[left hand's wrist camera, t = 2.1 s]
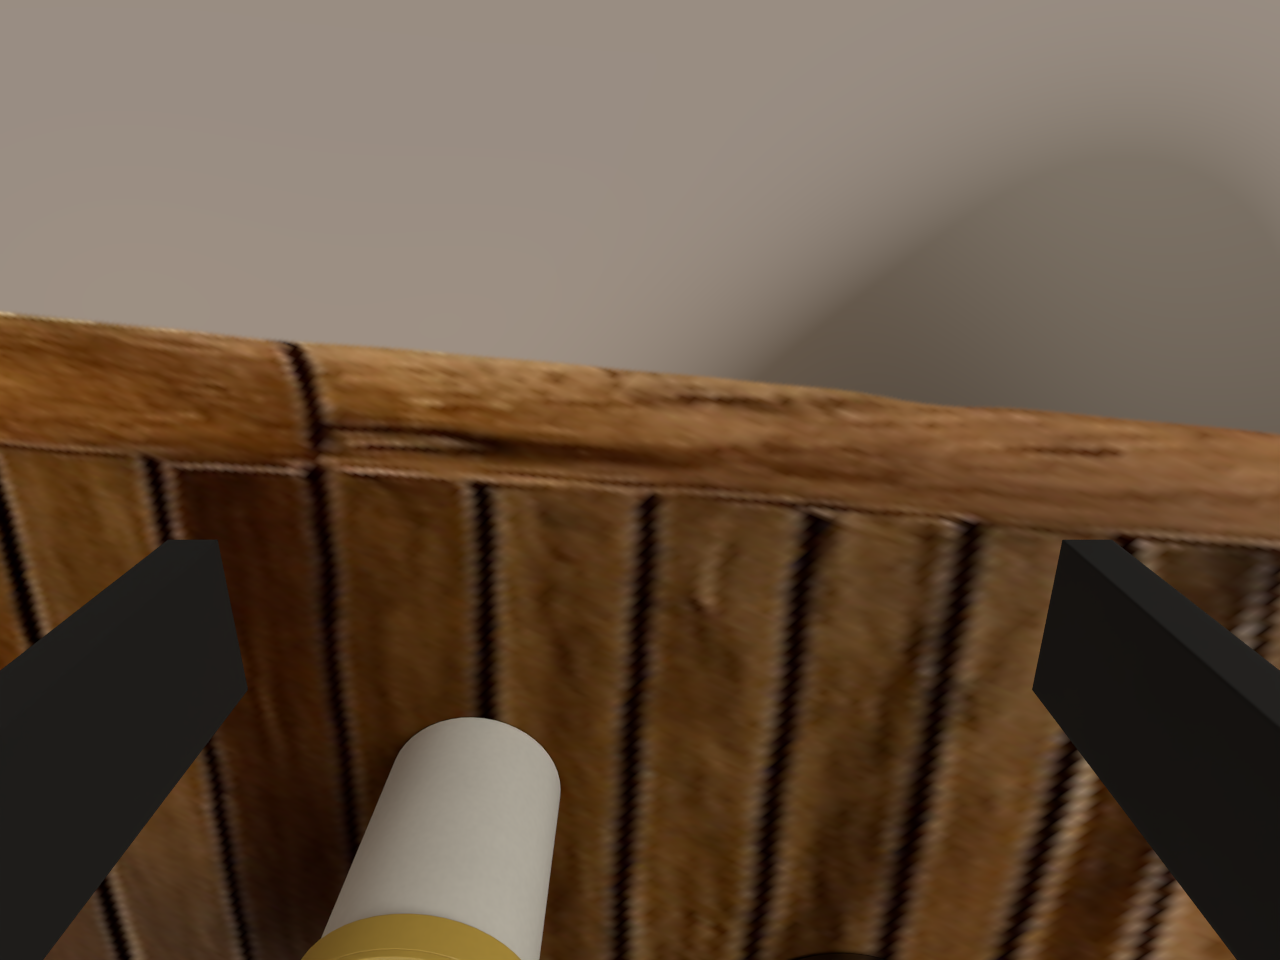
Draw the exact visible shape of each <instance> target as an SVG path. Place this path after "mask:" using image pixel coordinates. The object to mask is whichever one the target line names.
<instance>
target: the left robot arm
mask: <svg viewBox="0 0 1280 960" xmlns="http://www.w3.org/2000/svg"><path fill="white" fill-rule="evenodd" d="M247 690H248V688H247V683H246V678H245V673H244V669H243V664H242V659H241V654H240V649H239V644H238V639H237V634H236V629H235V624H234V619H233V614H232V609H231V604H230V599H229V594H228V590H227V585H226V580H225V575H224V570H223V565H222V560H221V555H220V550H219V545H218V540H167V541H166V542H165V543H163V544H162V545H161V546H160V547H158V548H157V549H156V550H154V551H153V552H152V553H151V554H149V555H148V556H147V557H145V558H144V559H143V560H142V561H140V562H139V563H138V564H137V565H135V566H134V567H133V568H131V569H130V570H129V571H128V572H126V573H125V574H124V575H122V576H121V577H120V578H119V579H117V580H116V581H115V582H113V583H112V584H111V585H110V586H108V587H107V588H106V589H104V590H103V591H102V592H101V593H99V594H98V595H97V596H95V597H94V598H93V599H92V600H90V601H89V602H88V603H86V604H85V605H84V606H83V607H81V608H80V609H79V610H77V611H76V612H75V613H74V614H72V615H71V616H70V617H68V618H67V619H66V620H65V621H63V622H62V623H61V624H60V625H58V626H57V627H56V628H54V629H53V630H52V631H51V632H49V633H48V634H47V635H45V636H44V637H43V638H42V639H40V640H39V641H38V642H36V643H35V644H34V645H33V646H31V647H30V648H29V649H27V650H26V651H25V652H24V653H22V654H21V655H20V656H18V657H17V658H16V659H15V660H13V661H12V662H11V663H9V664H8V665H7V666H6V667H4V668H3V669H2V670H0V960H43V959H44V958H45V957H46V955H47V954H48V953H49V951H50V950H51V949H52V947H53V946H54V945H55V943H56V942H57V941H58V939H59V938H60V937H61V935H62V934H63V933H64V931H65V930H66V929H67V928H68V926H69V925H70V924H71V922H72V921H73V920H74V918H75V917H76V916H77V914H78V913H79V912H80V910H81V909H82V908H83V906H84V905H85V904H86V902H87V901H88V900H89V899H90V897H91V896H92V895H93V893H94V892H95V891H96V889H97V888H98V887H99V885H100V884H101V883H102V881H103V880H104V879H105V877H106V876H107V875H108V873H109V872H110V871H111V869H112V868H113V867H114V866H115V864H116V863H117V862H118V860H119V859H120V858H121V856H122V855H123V854H124V852H125V851H126V850H127V848H128V847H129V846H130V844H131V843H132V842H133V840H134V839H135V838H136V836H137V835H138V834H139V833H140V831H141V830H142V829H143V827H144V826H145V825H146V823H147V822H148V821H149V819H150V818H151V817H152V815H153V814H154V813H155V811H156V810H157V809H158V807H159V806H160V805H161V804H162V802H163V801H164V800H165V798H166V797H167V796H168V794H169V793H170V792H171V790H172V789H173V788H174V786H175V785H176V784H177V782H178V781H179V780H180V778H181V777H182V776H183V774H184V773H185V772H186V771H187V769H188V768H189V767H190V765H191V764H192V763H193V761H194V760H195V759H196V757H197V756H198V755H199V753H200V752H201V751H202V749H203V748H204V747H205V745H206V744H207V743H208V741H209V740H210V739H211V738H212V736H213V735H214V734H215V732H216V731H217V730H218V728H219V727H220V726H221V724H222V723H223V722H224V720H225V719H226V718H227V716H228V715H229V714H230V712H231V711H232V710H233V708H234V707H235V706H236V705H237V703H238V702H239V701H240V699H241V698H242V697H243V695H244V694H245V693H246V691H247ZM1032 690H1033V691H1034V693H1035V694H1036V695H1037V697H1038V698H1039V699H1040V701H1041V702H1042V703H1043V705H1044V706H1045V707H1046V709H1047V710H1048V711H1049V712H1050V714H1051V715H1052V716H1053V718H1054V719H1055V720H1056V722H1057V723H1058V724H1059V726H1060V727H1061V728H1062V730H1063V731H1064V732H1065V734H1066V735H1067V736H1068V738H1069V739H1070V740H1071V741H1072V743H1073V744H1074V745H1075V747H1076V748H1077V749H1078V751H1079V752H1080V753H1081V755H1082V756H1083V757H1084V759H1085V760H1086V761H1087V763H1088V764H1089V765H1090V767H1091V768H1092V769H1093V771H1094V772H1095V773H1096V774H1097V776H1098V777H1099V778H1100V780H1101V781H1102V782H1103V784H1104V785H1105V786H1106V788H1107V789H1108V790H1109V792H1110V793H1111V794H1112V796H1113V797H1114V798H1115V800H1116V801H1117V802H1118V804H1119V805H1120V806H1121V807H1122V809H1123V810H1124V811H1125V813H1126V814H1127V815H1128V817H1129V818H1130V819H1131V821H1132V822H1133V823H1134V825H1135V826H1136V827H1137V829H1138V830H1139V831H1140V833H1141V834H1142V835H1143V836H1144V838H1145V839H1146V840H1147V842H1148V843H1149V844H1150V846H1151V847H1152V848H1153V850H1154V851H1155V852H1156V854H1157V855H1158V856H1159V858H1160V859H1161V860H1162V862H1163V863H1164V864H1165V866H1166V867H1167V868H1168V869H1169V871H1170V872H1171V873H1172V875H1173V876H1174V877H1175V879H1176V880H1177V881H1178V883H1179V884H1180V885H1181V887H1182V888H1183V889H1184V891H1185V892H1186V893H1187V895H1188V896H1189V897H1190V899H1191V900H1192V901H1193V902H1194V904H1195V905H1196V906H1197V908H1198V909H1199V910H1200V912H1201V913H1202V914H1203V916H1204V917H1205V918H1206V920H1207V921H1208V922H1209V924H1210V925H1211V926H1212V928H1213V929H1214V930H1215V931H1216V933H1217V934H1218V935H1219V937H1220V938H1221V939H1222V941H1223V942H1224V943H1225V945H1226V946H1227V947H1228V949H1229V950H1230V951H1231V953H1232V954H1233V955H1234V957H1235V958H1236V959H1237V960H1280V670H1278V669H1277V668H1276V667H1274V666H1273V665H1272V664H1271V663H1269V662H1268V661H1267V660H1265V659H1264V658H1263V657H1262V656H1260V655H1259V654H1258V653H1256V652H1255V651H1254V650H1253V649H1251V648H1250V647H1249V646H1247V645H1246V644H1245V643H1244V642H1242V641H1241V640H1240V639H1238V638H1237V637H1236V636H1235V635H1233V634H1232V633H1231V632H1229V631H1228V630H1227V629H1226V628H1224V627H1223V626H1222V625H1220V624H1219V623H1218V622H1217V621H1215V620H1214V619H1213V618H1212V617H1210V616H1209V615H1208V614H1206V613H1205V612H1204V611H1203V610H1201V609H1200V608H1199V607H1197V606H1196V605H1195V604H1194V603H1192V602H1191V601H1190V600H1188V599H1187V598H1186V597H1185V596H1183V595H1182V594H1181V593H1179V592H1178V591H1177V590H1176V589H1174V588H1173V587H1172V586H1170V585H1169V584H1168V583H1167V582H1165V581H1164V580H1163V579H1161V578H1160V577H1159V576H1158V575H1156V574H1155V573H1154V572H1152V571H1151V570H1150V569H1149V568H1147V567H1146V566H1145V565H1143V564H1142V563H1141V562H1140V561H1138V560H1137V559H1136V558H1135V557H1133V556H1132V555H1131V554H1129V553H1128V552H1127V551H1126V550H1124V549H1123V548H1122V547H1120V546H1119V545H1118V544H1117V543H1115V542H1114V541H1113V540H1062V545H1061V550H1060V555H1059V560H1058V565H1057V570H1056V575H1055V580H1054V585H1053V590H1052V594H1051V599H1050V604H1049V609H1048V614H1047V619H1046V624H1045V629H1044V634H1043V639H1042V644H1041V649H1040V654H1039V659H1038V664H1037V669H1036V673H1035V678H1034V683H1033V688H1032ZM799 960H884V959H881V958H877V957H872V956H867V955H859V954H843V953H841V954H825V955H817V956H812V957H807V958H803V959H799Z"/></svg>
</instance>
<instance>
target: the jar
mask: <svg viewBox="0 0 1280 960" xmlns="http://www.w3.org/2000/svg"><path fill="white" fill-rule="evenodd" d="M559 801H560V780H559V776H558V772H557V770H556V767H555V765H554V763H553V761H552V760H551V758H550V756H549V755H548V753H547V752H546V751H545V750H544V748H543V747H542V746H541V745H540V744H539V743H538V742H536V741H535V740H534V739H533V738H532V737H530V736H529V735H527V734H526V733H524V732H523V731H521V730H519V729H517V728H515V727H513V726H511V725H508V724H506V723H502V722H499V721H496V720H491V719H485V718H475V717H468V718H456V719H449V720H446V721H442V722H438V723H436V724H433V725H431V726H429V727H427V728H425V729H423V730H421V731H420V732H419V733H417V734H416V735H414V736H413V737H412V738H411V739H410V740H409V741H408V742H407V743H406V744H405V745H404V746H403V748H402V749H401V750H400V752H399V754H398V756H397V758H396V760H395V762H394V764H393V767H392V769H391V772H390V774H389V776H388V779H387V781H386V784H385V786H384V788H383V791H382V793H381V796H380V798H379V800H378V803H377V805H376V808H375V810H374V812H373V815H372V817H371V820H370V822H369V824H368V827H367V829H366V832H365V834H364V836H363V839H362V841H361V844H360V846H359V848H358V851H357V853H356V856H355V858H354V860H353V863H352V865H351V868H350V870H349V873H348V875H347V877H346V880H345V882H344V885H343V887H342V889H341V892H340V894H339V897H338V899H337V901H336V904H335V906H334V909H333V911H332V913H331V916H330V918H329V921H328V923H327V925H326V928H325V930H324V933H323V935H322V937H321V938H323V937H324V936H326V935H327V934H329V933H330V932H332V931H334V930H336V929H338V928H340V927H342V926H344V925H346V924H349V923H352V922H355V921H357V920H360V919H365V918H369V917H373V916H379V915H387V914H423V915H431V916H437V917H443V918H447V919H451V920H454V921H458V922H461V923H464V924H467V925H469V926H472V927H474V928H477V929H479V930H481V931H483V932H485V933H487V934H489V935H491V936H492V937H494V938H495V939H497V940H498V941H500V942H502V943H503V944H504V945H506V946H507V947H508V948H509V949H510V950H512V951H513V952H514V953H515V954H516V955H517V956H518V957H519V958H520V959H521V960H539V957H540V950H541V942H542V934H543V926H544V918H545V911H546V903H547V895H548V887H549V879H550V871H551V864H552V856H553V848H554V840H555V832H556V825H557V817H558V809H559Z"/></svg>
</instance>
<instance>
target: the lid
mask: <svg viewBox="0 0 1280 960" xmlns="http://www.w3.org/2000/svg"><path fill="white" fill-rule="evenodd" d="M301 960H521V959H520V958H519V957H518V956H517V955H516V954H515V953H514V952H513V951H512V950H510V949H509V948H508V947H507V946H506V945H504V944H503V943H502V942H500V941H498V940H497V939H495V938H494V937H492V936H491V935H489V934H487V933H485V932H483V931H481V930H479V929H477V928H474V927H472V926H469V925H467V924H464V923H461V922H458V921H454V920H451V919H447V918H443V917H437V916H431V915H423V914H387V915H379V916H373V917H369V918H365V919H360V920H357V921H355V922H352V923H349V924H346V925H344V926H342V927H340V928H338V929H336V930H334V931H332V932H330V933H329V934H327V935H326V936H324V937H323V938H321V939H320V940H319V941H318V942H317V943H315V944H314V945H313V946H312V947H311V948H310V949H309V950H308V951H307V953H306V954H305V955H304V956H303V958H302V959H301Z"/></svg>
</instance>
